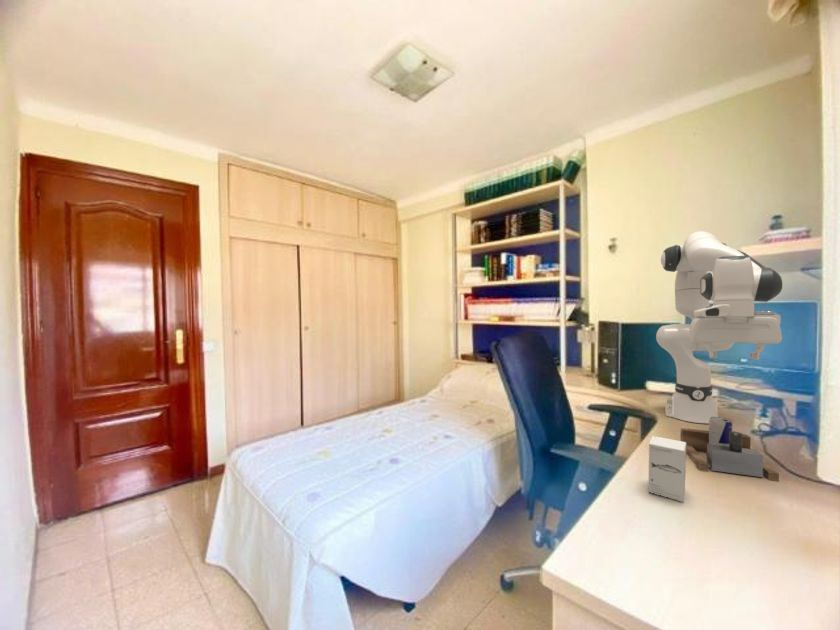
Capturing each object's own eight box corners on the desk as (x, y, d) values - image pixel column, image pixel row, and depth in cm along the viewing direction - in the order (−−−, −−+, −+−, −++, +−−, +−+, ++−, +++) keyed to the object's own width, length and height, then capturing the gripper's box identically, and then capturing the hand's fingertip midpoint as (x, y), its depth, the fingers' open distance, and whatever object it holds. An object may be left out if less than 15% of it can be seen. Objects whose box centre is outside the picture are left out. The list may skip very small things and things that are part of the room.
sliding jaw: (706, 464, 102) (707, 427, 102) (755, 470, 98) (755, 431, 98) (712, 470, 98) (712, 431, 98) (763, 477, 94) (763, 437, 94)
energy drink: (736, 462, 104) (736, 422, 104) (715, 461, 105) (715, 421, 105) (724, 455, 109) (724, 416, 109) (704, 453, 110) (705, 416, 110)
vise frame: (680, 446, 116) (680, 427, 116) (746, 454, 109) (746, 434, 109) (699, 470, 99) (699, 448, 99) (778, 481, 93) (778, 457, 93)
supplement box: (647, 493, 88) (647, 443, 87) (651, 481, 93) (651, 434, 93) (684, 503, 83) (684, 450, 83) (686, 490, 88) (686, 441, 88)
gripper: (774, 311, 100) (774, 359, 100) (687, 311, 108) (687, 356, 108) (787, 310, 95) (787, 361, 94) (694, 310, 102) (694, 358, 102)
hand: (733, 358), depth 101 cm, fingers open, 8 cm apart
